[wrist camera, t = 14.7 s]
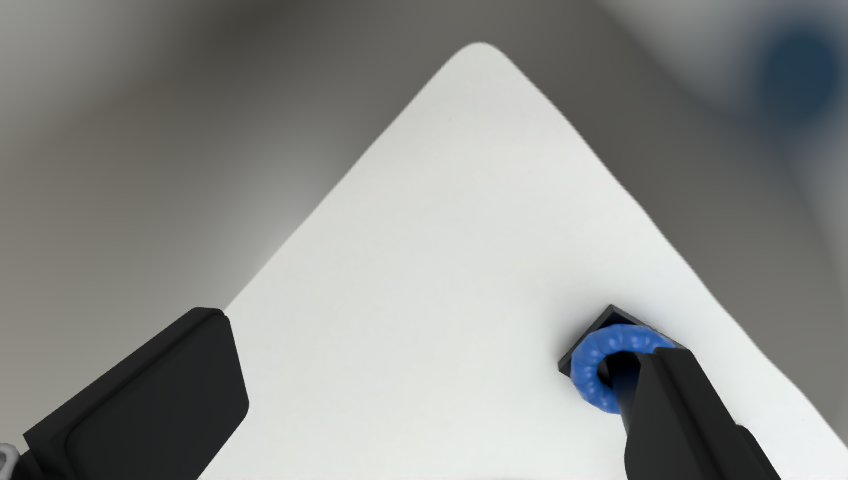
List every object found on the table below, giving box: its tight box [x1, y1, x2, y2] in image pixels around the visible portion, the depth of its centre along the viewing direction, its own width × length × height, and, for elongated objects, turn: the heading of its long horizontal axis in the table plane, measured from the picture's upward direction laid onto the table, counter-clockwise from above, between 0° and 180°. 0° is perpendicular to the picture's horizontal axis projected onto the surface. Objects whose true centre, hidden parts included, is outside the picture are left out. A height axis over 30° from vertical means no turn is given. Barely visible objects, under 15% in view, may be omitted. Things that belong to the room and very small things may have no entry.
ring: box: [570, 324, 675, 415], centre depth 37 cm, size 9×9×2 cm
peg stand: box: [558, 304, 687, 437], centre depth 34 cm, size 8×8×11 cm
